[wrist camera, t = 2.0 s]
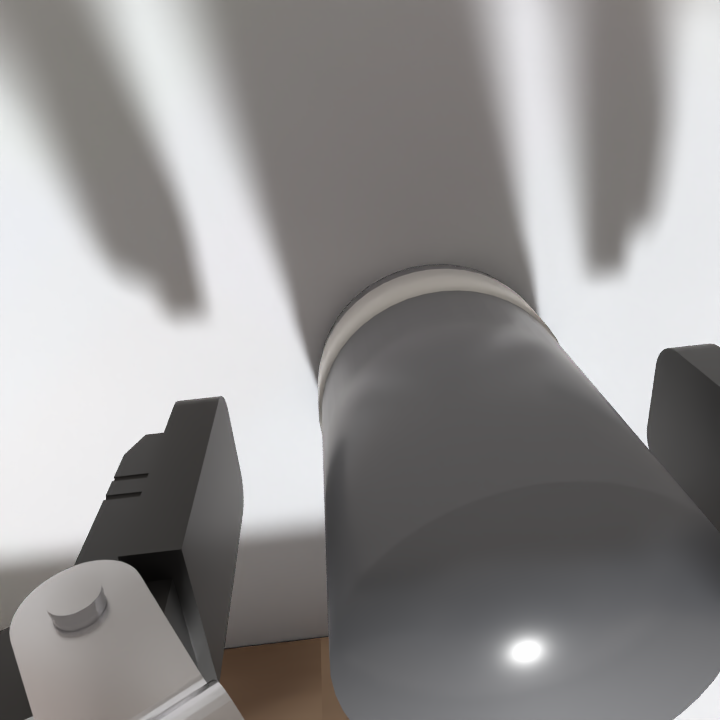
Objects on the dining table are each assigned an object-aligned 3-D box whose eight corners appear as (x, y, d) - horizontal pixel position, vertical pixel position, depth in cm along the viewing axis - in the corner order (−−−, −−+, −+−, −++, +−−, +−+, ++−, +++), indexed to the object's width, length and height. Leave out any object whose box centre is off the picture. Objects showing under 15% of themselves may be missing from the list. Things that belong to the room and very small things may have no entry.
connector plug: (548, 249, 12) (791, 450, 6) (539, 453, 14) (711, 755, 8) (303, 275, 11) (297, 507, 6) (330, 476, 13) (346, 801, 8)
